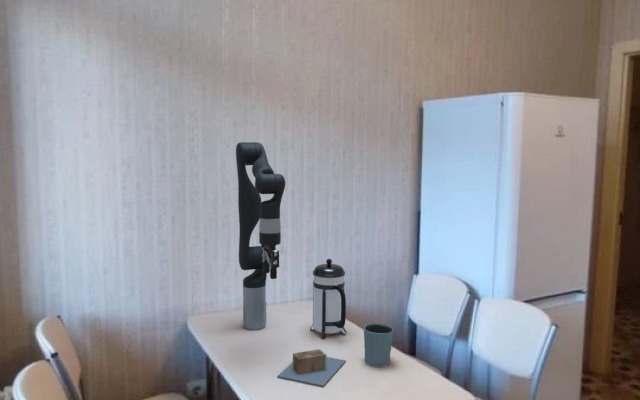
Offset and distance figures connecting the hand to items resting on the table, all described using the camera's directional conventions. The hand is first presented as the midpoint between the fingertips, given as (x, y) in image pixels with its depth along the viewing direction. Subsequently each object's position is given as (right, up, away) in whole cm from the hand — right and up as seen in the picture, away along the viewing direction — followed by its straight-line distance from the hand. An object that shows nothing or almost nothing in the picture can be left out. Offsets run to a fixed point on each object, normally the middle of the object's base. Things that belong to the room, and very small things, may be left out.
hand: (269, 275), depth 176 cm
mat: (+15, -30, -11) cm, 35 cm away
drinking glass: (+38, -29, -4) cm, 48 cm away
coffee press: (+22, -26, +21) cm, 40 cm away
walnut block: (+10, -27, -14) cm, 32 cm away
